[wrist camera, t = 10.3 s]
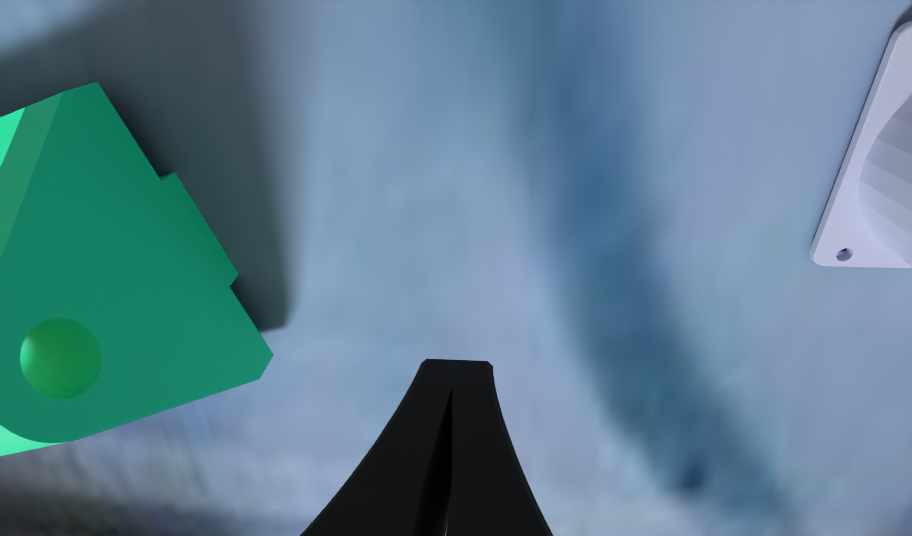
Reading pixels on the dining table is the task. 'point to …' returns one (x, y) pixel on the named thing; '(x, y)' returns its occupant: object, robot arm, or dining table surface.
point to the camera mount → (105, 281)
